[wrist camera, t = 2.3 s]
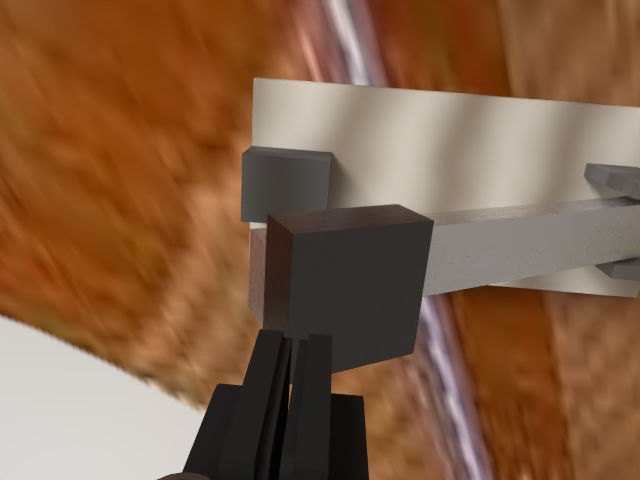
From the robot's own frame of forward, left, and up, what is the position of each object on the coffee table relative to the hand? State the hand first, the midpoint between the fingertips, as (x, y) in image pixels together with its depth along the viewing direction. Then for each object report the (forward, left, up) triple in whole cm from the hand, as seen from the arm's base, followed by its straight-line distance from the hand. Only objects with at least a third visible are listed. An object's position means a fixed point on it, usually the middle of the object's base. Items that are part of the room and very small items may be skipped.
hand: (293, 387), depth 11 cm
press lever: (-7, 0, -12) cm, 14 cm away
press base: (-8, 0, -23) cm, 24 cm away
